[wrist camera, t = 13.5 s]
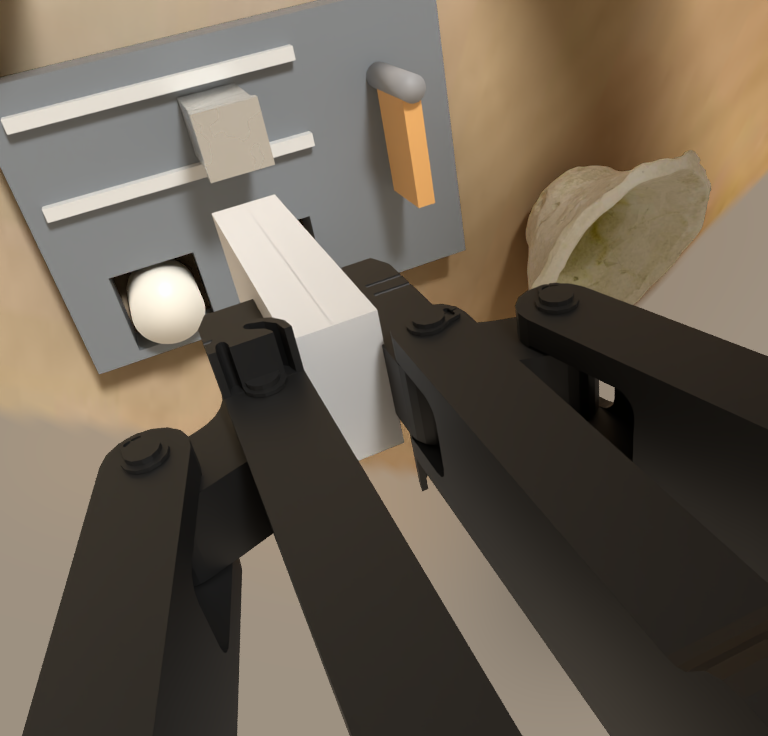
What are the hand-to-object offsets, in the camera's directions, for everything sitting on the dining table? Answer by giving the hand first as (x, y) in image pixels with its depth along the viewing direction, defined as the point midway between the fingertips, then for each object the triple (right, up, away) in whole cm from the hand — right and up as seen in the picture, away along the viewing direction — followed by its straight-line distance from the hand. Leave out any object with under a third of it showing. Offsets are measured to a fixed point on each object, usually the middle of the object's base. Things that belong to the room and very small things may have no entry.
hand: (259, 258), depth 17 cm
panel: (-5, +9, +25) cm, 27 cm away
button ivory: (-10, +2, +26) cm, 28 cm away
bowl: (+16, +8, +36) cm, 40 cm away
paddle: (+3, +11, +24) cm, 27 cm away
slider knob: (-6, +10, +21) cm, 24 cm away
